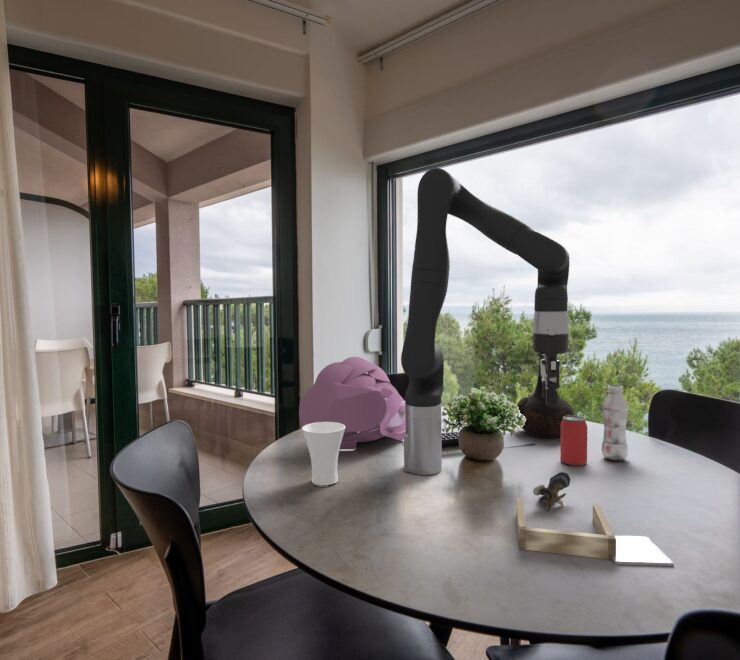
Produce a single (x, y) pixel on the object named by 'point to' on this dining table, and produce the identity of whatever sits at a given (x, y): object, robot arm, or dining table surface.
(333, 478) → the cup
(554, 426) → the glass bottle
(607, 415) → the plastic bottle
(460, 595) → the dining table surface
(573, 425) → the beer can
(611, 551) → the frame
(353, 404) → the purple rounded folded piece
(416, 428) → the robot arm
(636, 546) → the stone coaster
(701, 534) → the dining table surface
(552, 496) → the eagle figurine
